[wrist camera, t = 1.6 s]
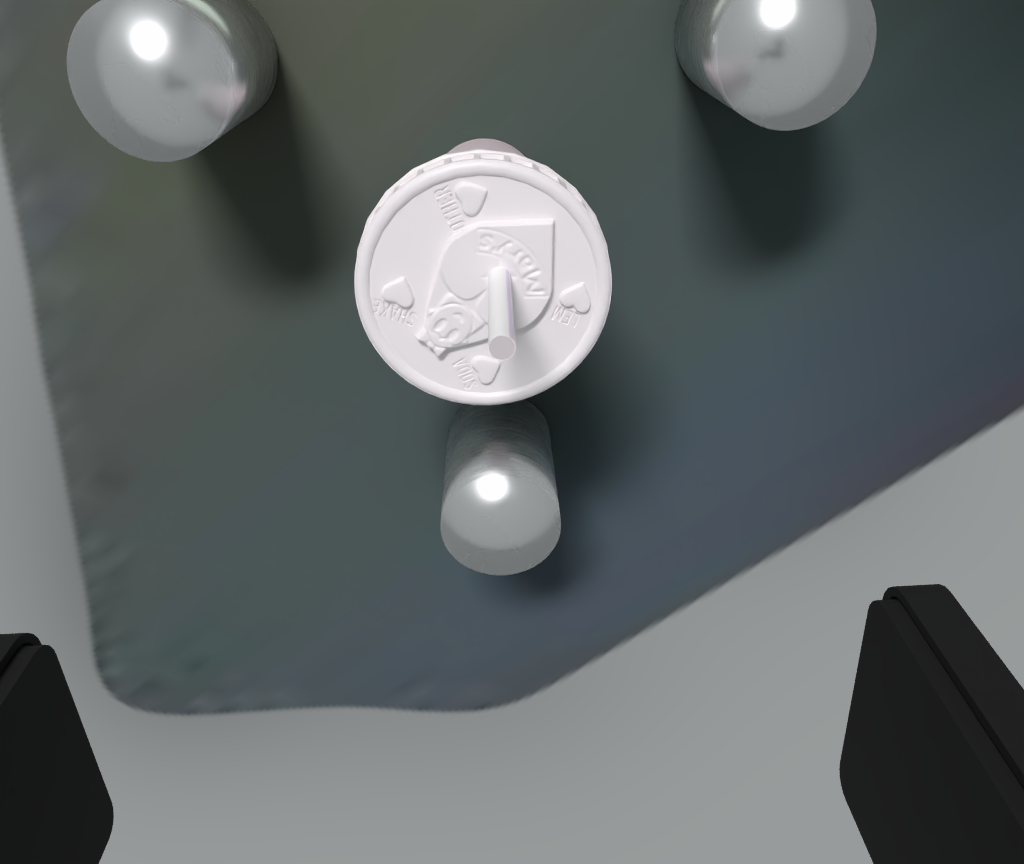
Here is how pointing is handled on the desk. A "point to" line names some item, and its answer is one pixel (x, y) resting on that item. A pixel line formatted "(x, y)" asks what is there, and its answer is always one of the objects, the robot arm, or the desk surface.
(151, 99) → the set of grey cylinders
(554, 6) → the desk surface
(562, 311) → the smoothie
